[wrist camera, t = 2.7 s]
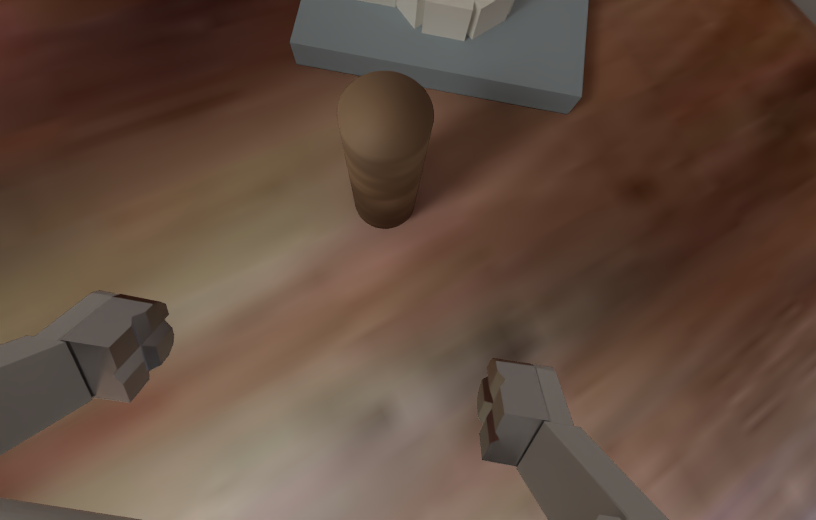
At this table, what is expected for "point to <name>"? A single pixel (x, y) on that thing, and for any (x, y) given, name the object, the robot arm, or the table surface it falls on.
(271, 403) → the table surface
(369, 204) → the walnut dowel
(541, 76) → the keyhole board
